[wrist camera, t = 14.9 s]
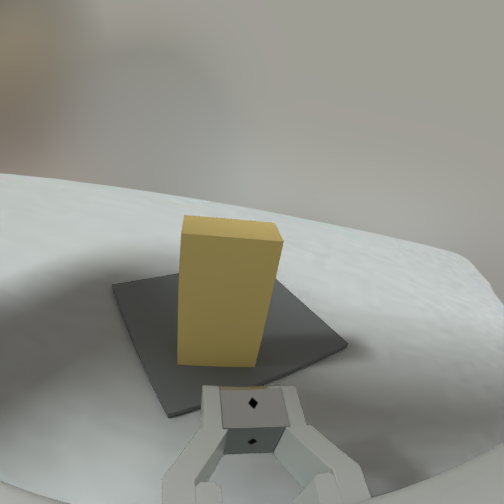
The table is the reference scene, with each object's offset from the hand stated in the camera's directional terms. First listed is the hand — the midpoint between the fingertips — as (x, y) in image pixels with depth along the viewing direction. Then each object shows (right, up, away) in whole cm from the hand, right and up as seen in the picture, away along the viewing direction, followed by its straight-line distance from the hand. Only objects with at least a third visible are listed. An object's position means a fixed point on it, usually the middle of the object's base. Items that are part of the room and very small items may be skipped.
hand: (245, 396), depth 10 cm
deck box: (-2, -2, +12) cm, 12 cm away
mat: (-2, -1, +16) cm, 16 cm away
